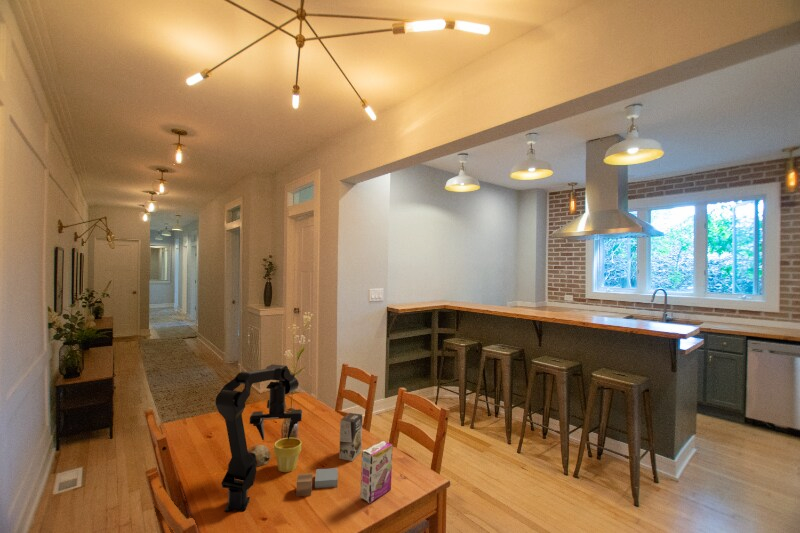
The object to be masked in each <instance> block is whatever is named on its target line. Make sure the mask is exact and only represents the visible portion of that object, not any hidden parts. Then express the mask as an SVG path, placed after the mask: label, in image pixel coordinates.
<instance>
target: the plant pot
mask: <svg viewBox="0 0 800 533" xmlns="http://www.w3.org/2000/svg"><path fill="white" fill-rule="evenodd" d="M302 443H303V442H302V440H301V439H300V438H298V437H289V439H288V437H285V438H284V437H283V438H280V439H278V440H277V441H275V442H274V445H273V453H274V455H275V457H276V464H277V468H278V471H279V472H282V473H289V472H292V471H294V470H295V469H296V468H297V463H298V459H299V456H300V453H301V451H302Z"/></svg>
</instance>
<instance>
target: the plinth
mask: <svg viewBox="0 0 800 533" xmlns="http://www.w3.org/2000/svg"><path fill="white" fill-rule="evenodd" d="M338 468H339V467H334V468H333V467H332V468H317V469H315V476H314V478H315V479H314V489H320V488H321V489H323V488H324V489H325V488H337V487H338V476H339V475H338V474H339V473H338Z"/></svg>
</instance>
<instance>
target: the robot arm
mask: <svg viewBox="0 0 800 533" xmlns="http://www.w3.org/2000/svg"><path fill="white" fill-rule="evenodd" d="M269 381H270V382H269ZM261 382H269V383H268V384H267V385H266V389H267V390H269V399H267V401H266V403H267V404H266V408H267V409H268V413H264V411H263V410H260V411H253V412H251V414H250V416H249V425H252V426H253V427H255V428H256V429H257V431H258V433H259V435H260V438H261V440H262V441H265V430H264V429H265V426H264V420H283V419H290V420H289V425H288V432H287V438H288V439H289V438H291V433H292V431H293V429H294V426H295V425H296V424H297V425H298V424H299V422H302V419H303V409H291V412H286V407H287V406H286V395H288V394H290V393H291V392H293V391H296V390H297V389H298V387H299V380H298V379H297V378H296V377H295V373H294V374H293V373H291V371H290V369H289V368H288V365H282V364H270V365H268V366H266V367H265V368H262V369H257V370H255V369H254V370H250V371H249V370H248V371H240V372H238V373H237V374H236V376H235V377H234V378H233V379H231V380H230V381H229V382H227V383H225V385H224V386H223V387H222V388H221V389H220V391H219V393H218V394H217V395H216V397H215V401H214V402H215V406H216V409H217V411H218V413H219V414H220V415H221V417H222V418H223V419H224V420H225V421H224V422H225V427H226V432H227V437H228V442H229V450H230V454H231V458H230V460H229V462H228V465H227V468H228V469H227V471H226V473H225V475H224V477H223V479H222V481H221V482H220V483H221V487H222V488H224V489H228V495H227V496H228V498H227V504H226V506H225V508H224V512H225V513H227V512H228V513H229V512H238V511H239V512H243V511H246V510H247V508H248V505H249V502H250V500H251V497H250V496H248V490H249V489H251V487H253V486H254V484H255V478H256V474H257V466H256V464H257V462H256V455H255V453H250V452H248V444H247V440H246V433H245V428H244V422H243V413H244V410H245V408H246V402H247V401H248V398H249V397H250V395H251V387H252V386H253V385H254V384H257V383H261ZM241 385H244V387H243V389H242V391H241V390H240V391H238V390H236V389H237V388H239V387H240V386H241Z"/></svg>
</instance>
